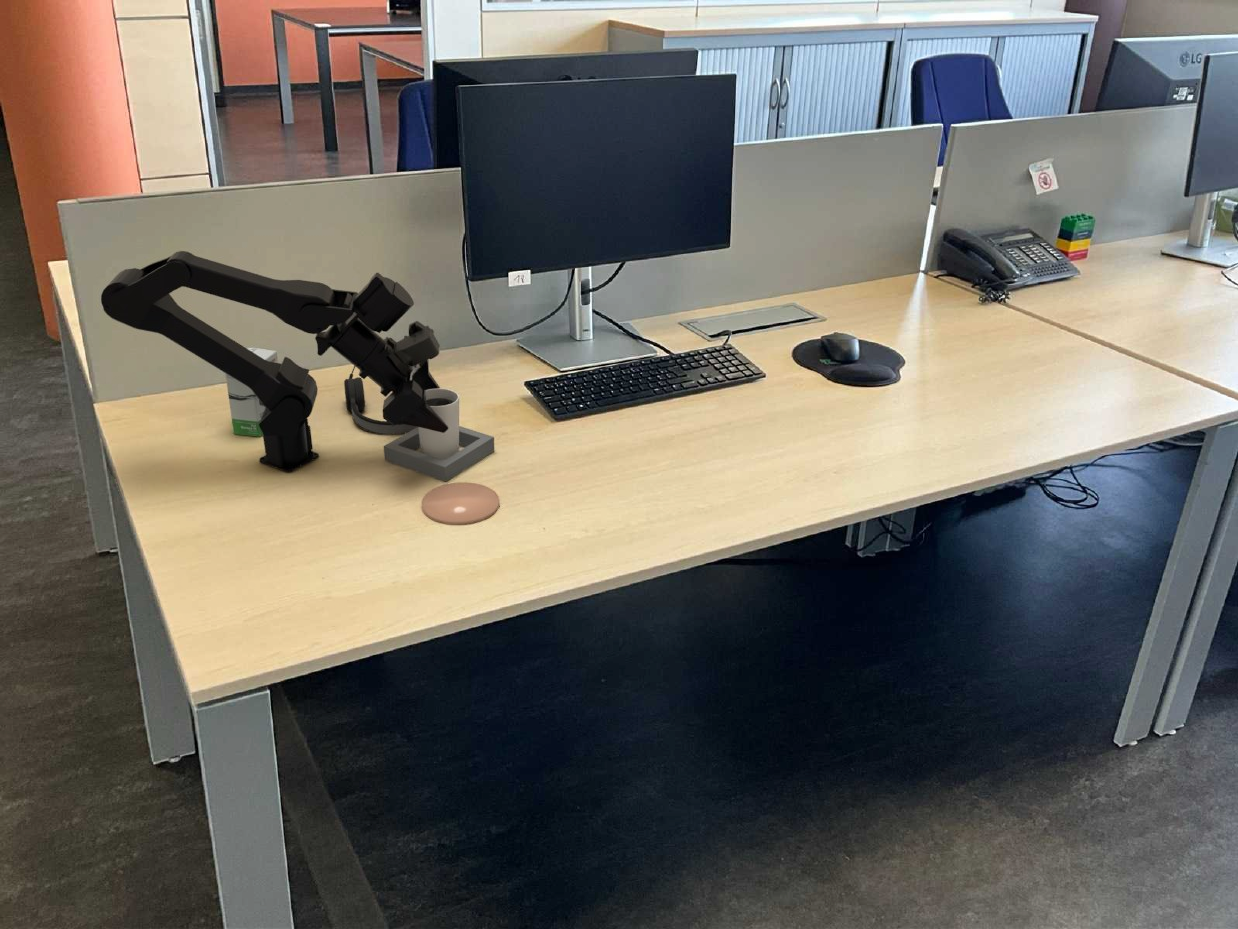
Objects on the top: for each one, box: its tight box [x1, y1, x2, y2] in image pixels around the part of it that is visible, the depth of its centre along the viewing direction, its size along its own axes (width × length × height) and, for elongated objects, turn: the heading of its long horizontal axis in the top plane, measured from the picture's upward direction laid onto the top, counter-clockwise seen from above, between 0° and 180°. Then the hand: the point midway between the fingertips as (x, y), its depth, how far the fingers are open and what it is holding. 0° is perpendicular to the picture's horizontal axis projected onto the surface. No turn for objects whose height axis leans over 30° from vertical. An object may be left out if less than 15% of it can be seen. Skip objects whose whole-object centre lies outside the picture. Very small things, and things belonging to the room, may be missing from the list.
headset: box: [343, 365, 417, 436], centre depth 181 cm, size 13×9×19 cm
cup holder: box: [383, 425, 495, 483], centre depth 168 cm, size 12×12×2 cm
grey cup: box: [418, 388, 460, 461], centre depth 167 cm, size 7×7×10 cm
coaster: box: [421, 481, 500, 526], centre depth 156 cm, size 11×11×1 cm
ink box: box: [224, 347, 279, 437], centre depth 174 cm, size 9×5×12 cm, turn 168°
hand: (447, 416), depth 166 cm, fingers open, 9 cm apart
